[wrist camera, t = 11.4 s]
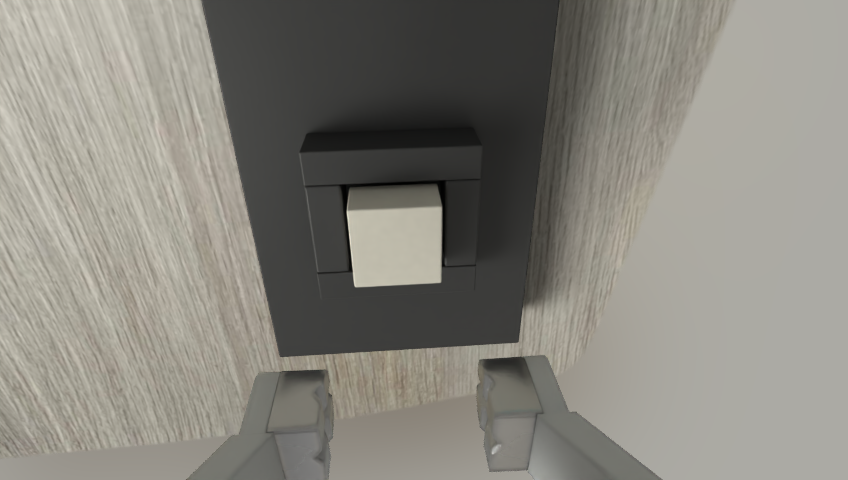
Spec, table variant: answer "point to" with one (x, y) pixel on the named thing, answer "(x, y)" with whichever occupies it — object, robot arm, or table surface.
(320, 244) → the button base
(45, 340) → the table surface
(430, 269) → the push button
